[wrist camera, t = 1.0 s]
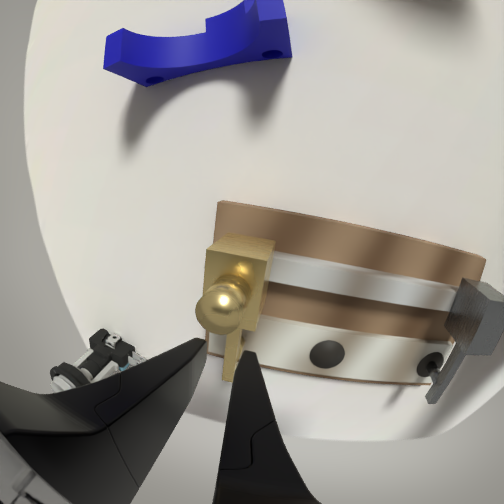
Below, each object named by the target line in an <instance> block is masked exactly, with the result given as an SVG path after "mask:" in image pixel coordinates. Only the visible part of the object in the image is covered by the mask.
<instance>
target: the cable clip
mask: <svg viewBox="0 0 504 504" xmlns="http://www.w3.org/2000/svg"><path fill="white" fill-rule="evenodd" d="M291 57H292V51H291V44H290V37H289V30H288V23H287V17H286V12H285V7H284V3H283V0H244V1H243V2H241V3H240V4H239V5H237V6H236V7H234V8H232V9H231V10H229V11H227V12H224V13H222V14H220V15H217V16H214V17H210V18H207V19H206V32H205V33H200V34H195V35H189V36H180V37H153V36H146V35H140V34H136V33H133V32H131V31H128V30H126V29H124V28H122V29H120V30H118V31H116V32H114V33H112V34H110V35H108V36H107V37H106V45H105V55H104V66H103V69H105V70H107V71H110V72H112V73H115V74H117V75H120V76H122V77H124V78H127V79H129V80H131V81H134V82H136V83H138V84H141V85H143V86H145V87H148V86H151V85H154V84H157V83H160V82H164V81H167V80H170V79H174V78H177V77H181V76H184V75H188V74H192V73H196V72H200V71H204V70H209V69H214V68H218V67H223V66H229V65H234V64H240V63H246V62H253V61H261V60H269V59H279V58H291Z"/></svg>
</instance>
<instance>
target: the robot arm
mask: <svg viewBox="0 0 504 504" xmlns="http://www.w3.org/2000/svg"><path fill="white" fill-rule="evenodd" d="M206 358H207V341H206V340H204V339H200V338H194V339H191V340H189V341H187V342H185V343H183V344H181V345H179V346H177V347H175V348H173V349H170V350H168V351H166V352H164V353H162V354H160V355H158V356H155V357H153V358H151V359H149V360H147V361H144V362H142V363H140V364H138V365H135V366H133V367H131V368H129V369H126V370H124V371H122V372H121V373H117V374H114V375H112V376H110V377H107V378H104V379H102V380H99V381H96V382H93V383H90V384H87V385H83V386H80V387H76V388H72V389H69V390H65V391H61V392H57V393H53V394H36V393H32V392H29V391H26V390H22V389H20V388H17V387H14V386H11V385H8V384H5V383H3V382H0V504H130V503H131V501H132V500H133V498H134V496H135V495H136V493H137V492H138V490H139V487H140V486H141V485H142V483H143V481H144V480H145V478H146V476H147V475H148V473H149V471H150V470H151V468H152V466H153V464H154V462H155V461H156V459H157V458H158V456H159V454H160V453H161V451H162V449H163V447H164V446H165V444H166V442H167V440H168V439H169V437H170V435H171V434H172V432H173V430H174V428H175V427H176V425H177V423H178V421H179V420H180V418H181V416H182V414H183V413H184V411H185V409H186V407H187V406H188V404H189V402H190V400H191V398H192V396H193V394H194V391H195V389H196V386H197V384H198V381H199V378H200V376H201V373H202V371H203V368H204V366H205V363H206ZM212 504H321V503H320V502H319V501H318V500H316V498H314V496H313V495H312V494H311V493H310V491H309V490H308V488H307V487H306V485H305V483H304V481H303V479H302V478H301V476H300V474H299V472H298V470H297V468H296V466H295V465H294V463H293V461H292V459H291V457H290V455H289V453H288V451H287V449H286V446H285V444H284V442H283V439H282V437H281V434H280V431H279V428H278V425H277V422H276V419H275V415H274V412H273V409H272V405H271V402H270V399H269V395H268V392H267V389H266V385H265V382H264V378H263V375H262V372H261V368H260V365H259V361H258V358H257V354H256V353H255V352H253V351H248V350H244V351H243V353H242V356H241V358H240V360H239V362H238V365H237V367H236V369H235V372H234V377H233V383H232V390H231V396H230V402H229V408H228V414H227V420H226V426H225V432H224V438H223V445H222V451H221V457H220V463H219V469H218V476H217V481H216V487H215V492H214V498H213V503H212Z"/></svg>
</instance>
